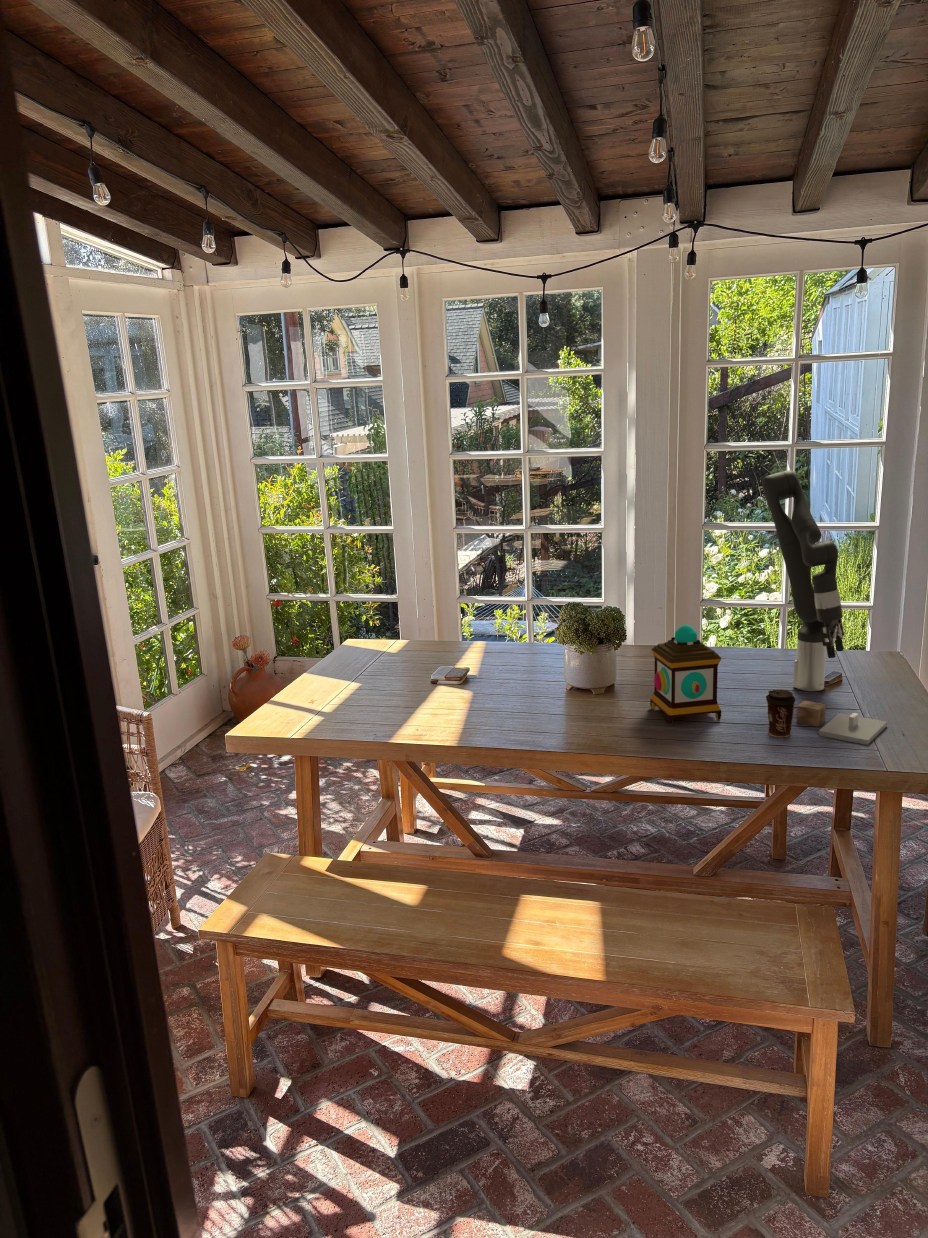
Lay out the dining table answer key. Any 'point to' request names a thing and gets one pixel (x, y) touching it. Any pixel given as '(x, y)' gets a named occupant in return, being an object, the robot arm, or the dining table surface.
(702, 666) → the decorative lantern
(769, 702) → the coffee cup
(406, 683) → the dining table surface
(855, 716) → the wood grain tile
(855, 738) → the base plate
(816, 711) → the cardboard box
